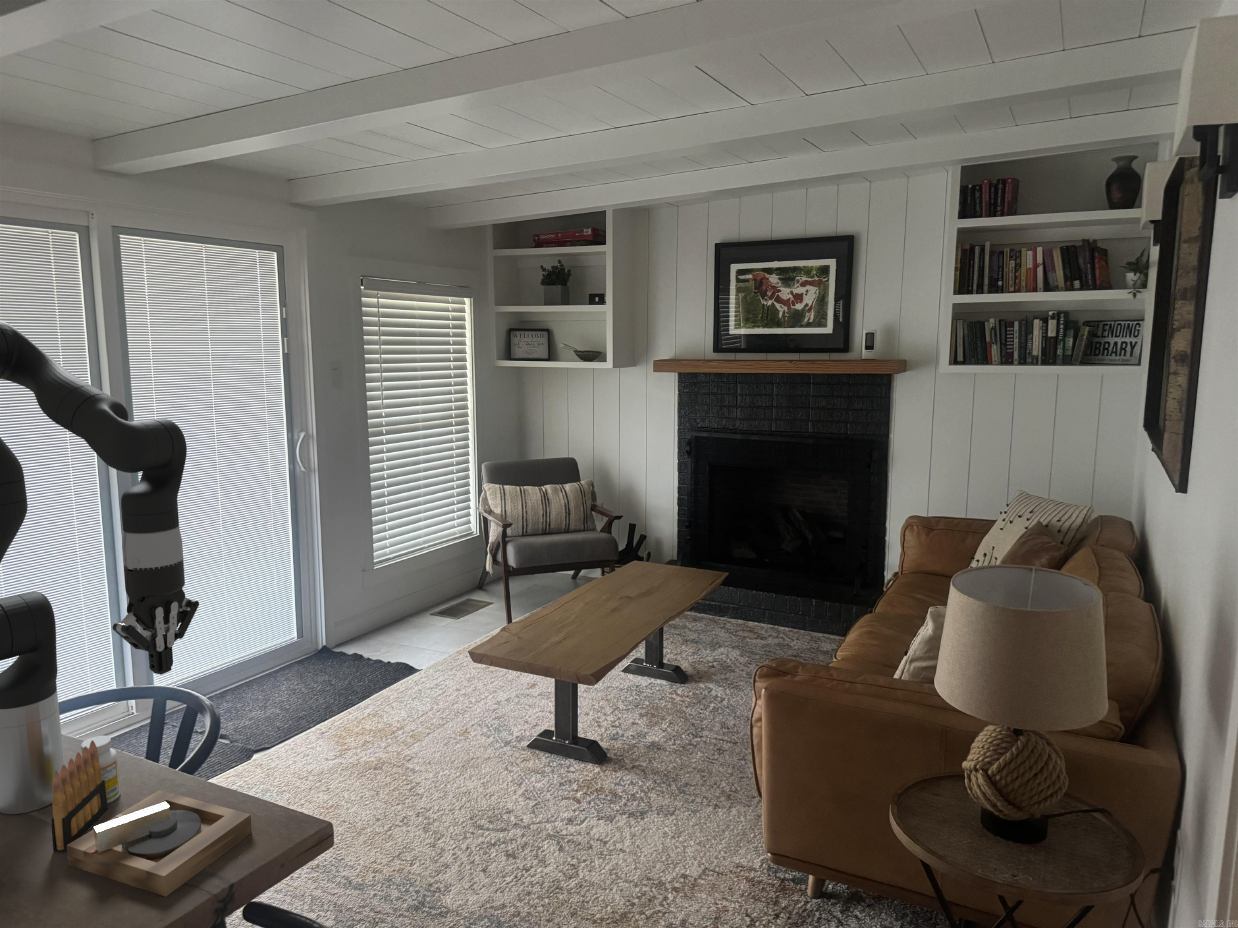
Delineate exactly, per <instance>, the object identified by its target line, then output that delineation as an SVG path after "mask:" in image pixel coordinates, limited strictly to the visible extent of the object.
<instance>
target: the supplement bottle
mask: <svg viewBox="0 0 1238 928" xmlns="http://www.w3.org/2000/svg"><path fill="white" fill-rule="evenodd" d="M92 740H93V741H94V742H95V744H96V747H97V751H98V757H99V762H100V765H101V772H102V780H105V788H106V796H107V804H110V803H112V802H114V801H115V800H117V798H119V796H120V794H121V780H120V769H119V760H118V759H119V758H118V752H117V751H116V750H115V748H112V739H111V737H110V736H109V735H98V736H93V737H89V738H88V739H85V740H84V741H83V742H82V743H81V745H80V748H81V749H80V750H81V754H82V753H83V749H84V747H85V746H86V747H87V748H88V750H89V747H90V743H91V741H92Z"/></svg>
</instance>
